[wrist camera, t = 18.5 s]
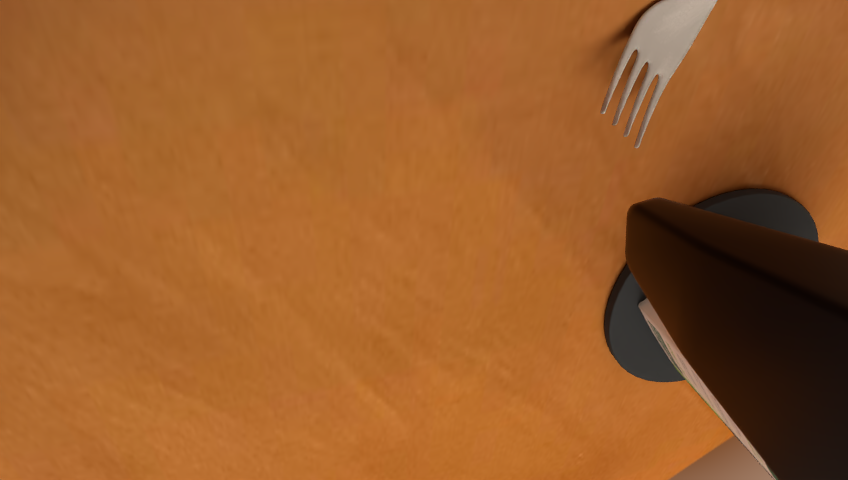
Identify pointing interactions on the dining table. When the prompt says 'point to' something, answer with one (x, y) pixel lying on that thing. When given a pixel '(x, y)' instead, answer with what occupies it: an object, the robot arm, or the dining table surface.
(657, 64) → the fork
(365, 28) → the dining table surface
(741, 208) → the coaster
